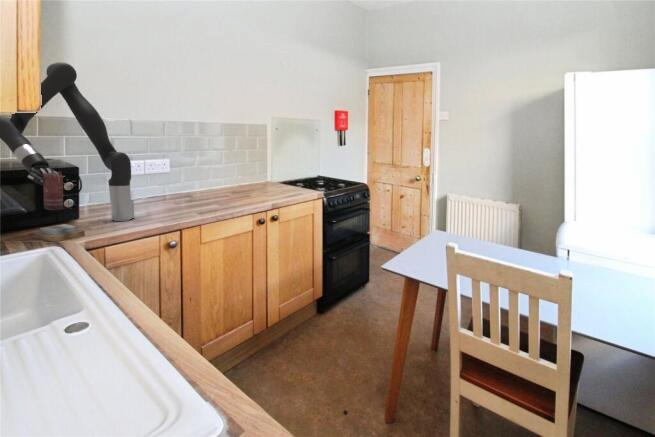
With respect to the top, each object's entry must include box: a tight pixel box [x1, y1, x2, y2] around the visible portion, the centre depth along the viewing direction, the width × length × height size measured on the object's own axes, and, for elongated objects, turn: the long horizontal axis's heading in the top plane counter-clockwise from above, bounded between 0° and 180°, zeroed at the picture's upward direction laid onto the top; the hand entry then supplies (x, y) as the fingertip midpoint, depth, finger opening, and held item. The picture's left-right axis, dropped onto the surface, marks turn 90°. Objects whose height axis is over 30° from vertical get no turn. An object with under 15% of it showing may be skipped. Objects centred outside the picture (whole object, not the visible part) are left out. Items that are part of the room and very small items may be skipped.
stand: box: [33, 223, 86, 242], centre depth 150 cm, size 12×12×4 cm
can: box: [43, 173, 64, 211], centre depth 147 cm, size 6×6×14 cm
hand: (59, 191), depth 146 cm, fingers closed
